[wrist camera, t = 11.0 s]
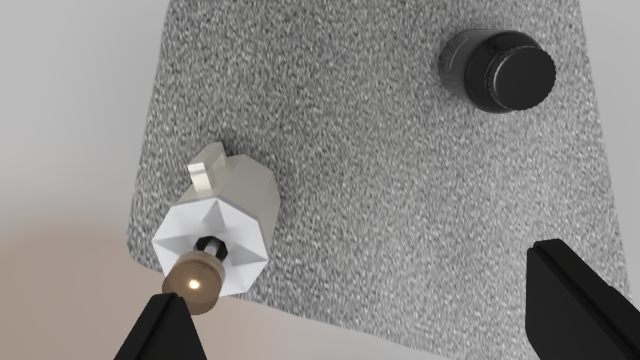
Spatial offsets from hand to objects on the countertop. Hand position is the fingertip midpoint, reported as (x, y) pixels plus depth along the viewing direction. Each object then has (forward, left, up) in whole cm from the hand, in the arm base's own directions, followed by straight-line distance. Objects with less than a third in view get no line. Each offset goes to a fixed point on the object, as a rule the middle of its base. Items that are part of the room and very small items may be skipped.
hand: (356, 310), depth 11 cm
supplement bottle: (-1, +15, -34) cm, 37 cm away
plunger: (+8, -12, -33) cm, 36 cm away
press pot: (+7, -12, -34) cm, 37 cm away
